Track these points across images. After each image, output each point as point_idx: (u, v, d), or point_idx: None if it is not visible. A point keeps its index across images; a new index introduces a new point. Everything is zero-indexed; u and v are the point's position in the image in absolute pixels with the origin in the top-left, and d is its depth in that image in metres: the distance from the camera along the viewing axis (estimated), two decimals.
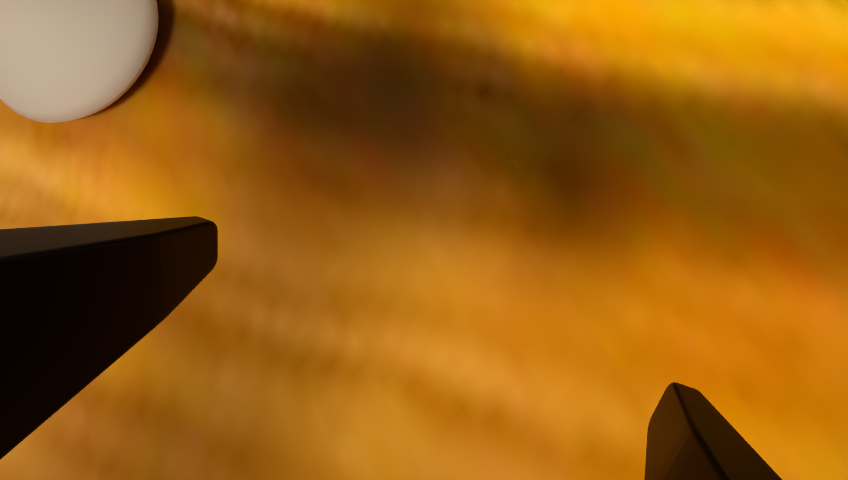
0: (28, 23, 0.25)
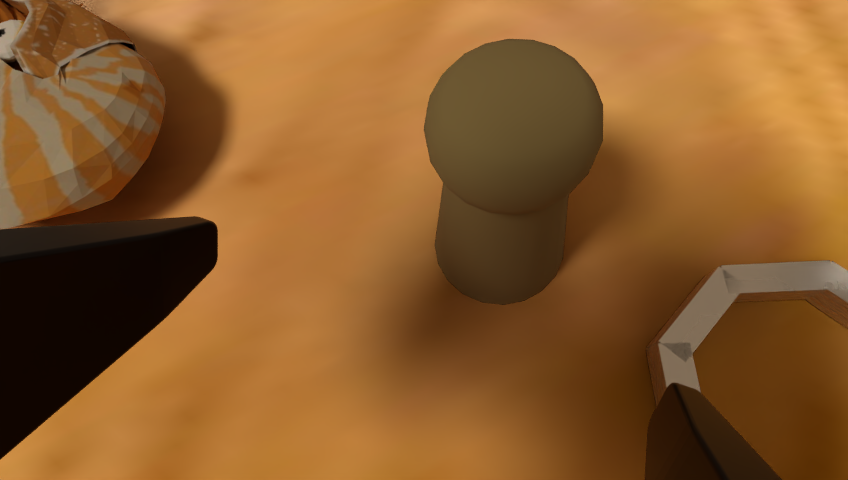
0: None
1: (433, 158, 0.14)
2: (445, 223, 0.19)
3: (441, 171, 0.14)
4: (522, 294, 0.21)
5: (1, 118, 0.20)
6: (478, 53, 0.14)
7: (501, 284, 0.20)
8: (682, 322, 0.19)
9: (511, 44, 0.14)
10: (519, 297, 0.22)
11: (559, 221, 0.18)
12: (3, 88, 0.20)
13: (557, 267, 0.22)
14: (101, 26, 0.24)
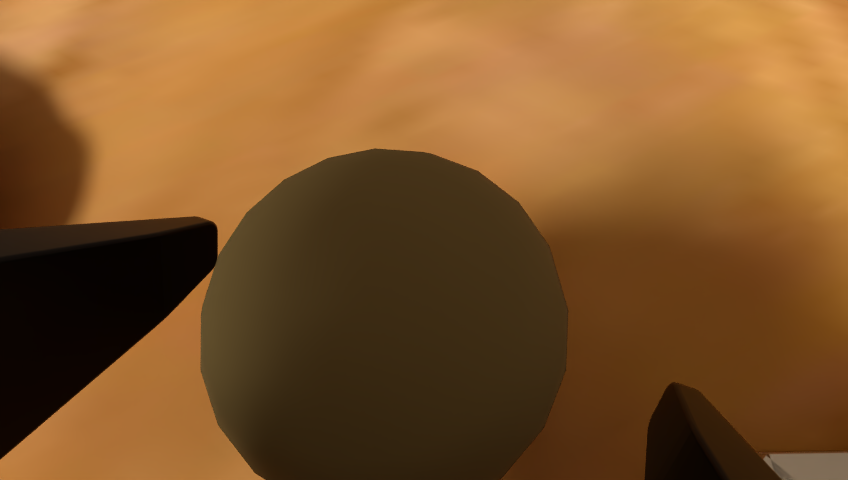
0: None
1: None
2: None
3: None
4: None
5: None
6: (303, 186, 0.07)
7: None
8: None
9: (373, 166, 0.07)
10: None
11: None
12: None
13: None
14: None
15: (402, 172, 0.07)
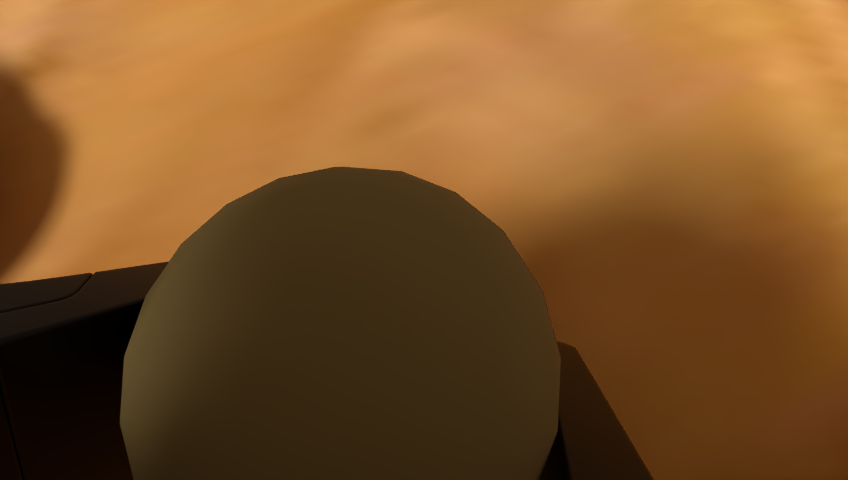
0: None
1: None
2: None
3: None
4: None
5: None
6: (246, 213, 0.06)
7: None
8: None
9: (329, 190, 0.06)
10: None
11: None
12: None
13: None
14: None
15: (363, 197, 0.05)
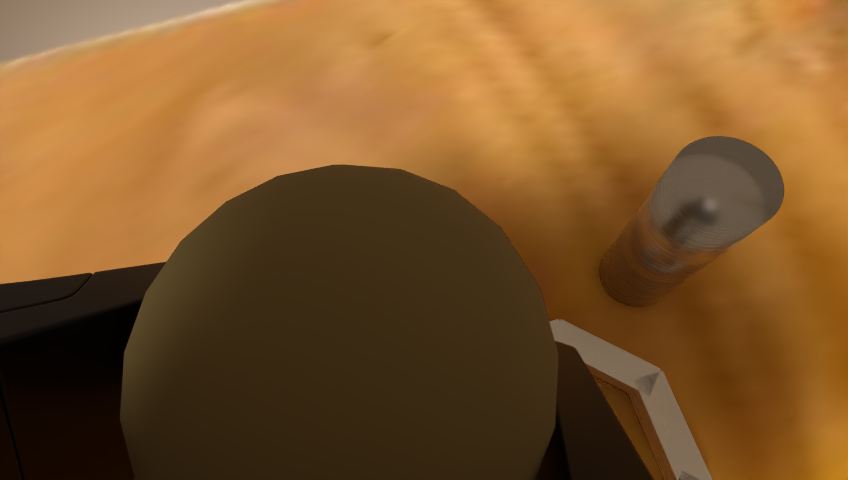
0: None
1: None
2: None
3: None
4: None
5: None
6: (246, 211, 0.06)
7: None
8: None
9: (328, 187, 0.06)
10: None
11: None
12: None
13: None
14: None
15: (361, 195, 0.05)
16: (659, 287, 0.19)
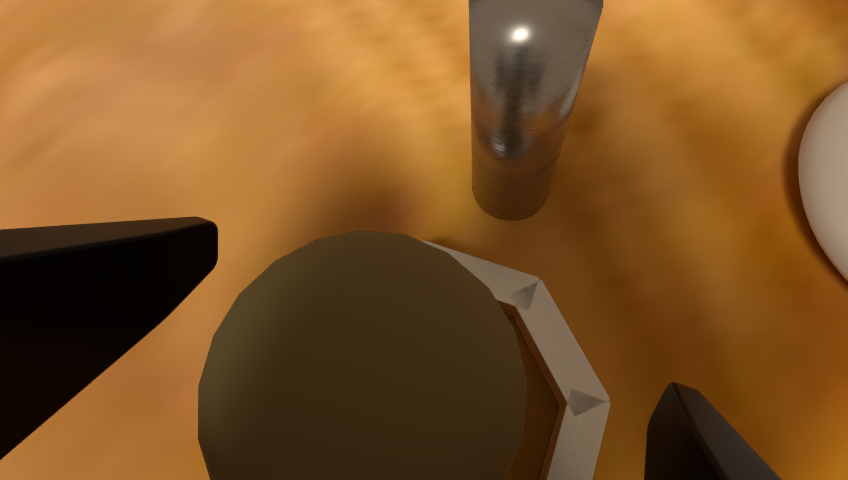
0: None
1: None
2: None
3: None
4: None
5: None
6: (289, 273, 0.07)
7: None
8: None
9: (351, 256, 0.07)
10: None
11: None
12: None
13: None
14: None
15: (376, 262, 0.07)
16: (521, 180, 0.16)
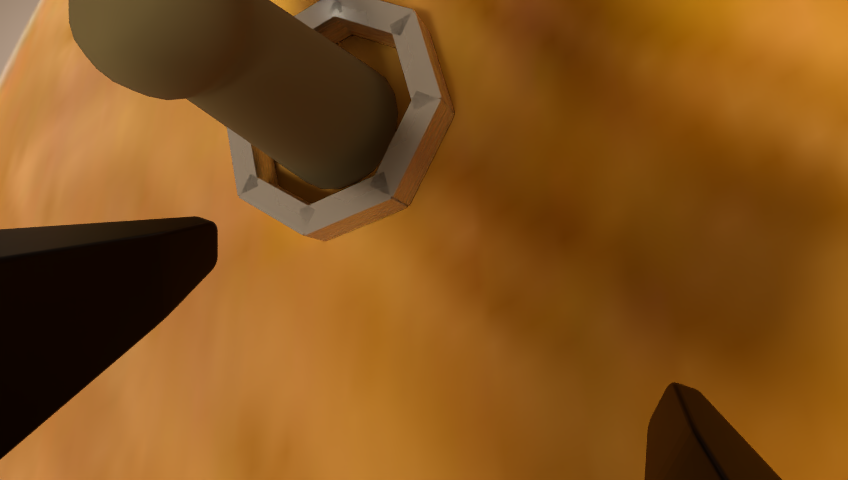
0: None
1: (118, 82, 0.14)
2: (245, 139, 0.19)
3: (128, 87, 0.14)
4: (375, 148, 0.21)
5: None
6: None
7: (340, 152, 0.20)
8: (237, 169, 0.23)
9: None
10: (377, 152, 0.21)
11: (311, 56, 0.17)
12: None
13: (389, 103, 0.21)
14: None
15: None
16: None
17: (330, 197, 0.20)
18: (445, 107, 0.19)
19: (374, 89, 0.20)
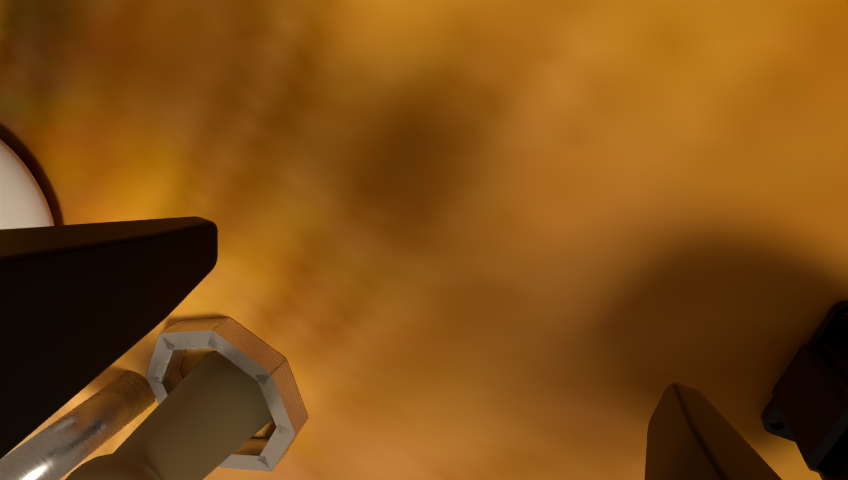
0: None
1: None
2: (217, 465, 0.28)
3: None
4: (245, 373, 0.30)
5: None
6: None
7: (240, 400, 0.29)
8: (254, 467, 0.32)
9: None
10: None
11: (164, 417, 0.26)
12: None
13: (219, 357, 0.30)
14: None
15: None
16: (108, 411, 0.32)
17: (272, 411, 0.29)
18: (220, 326, 0.29)
19: (205, 368, 0.30)
